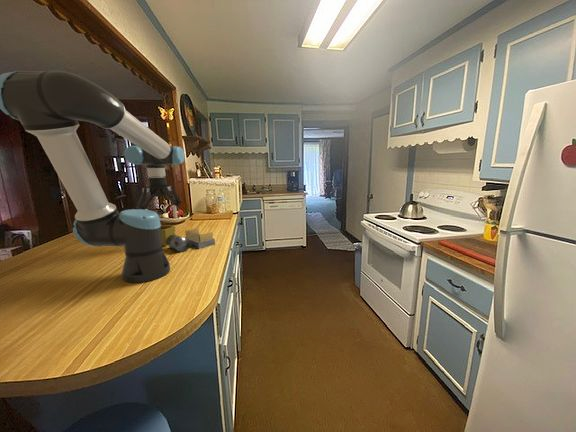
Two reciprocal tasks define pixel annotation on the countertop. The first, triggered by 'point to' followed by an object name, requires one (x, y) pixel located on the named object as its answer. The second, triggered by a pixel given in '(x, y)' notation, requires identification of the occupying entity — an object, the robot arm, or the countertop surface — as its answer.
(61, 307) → the countertop surface
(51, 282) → the countertop surface
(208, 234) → the motor block
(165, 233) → the flower pot
